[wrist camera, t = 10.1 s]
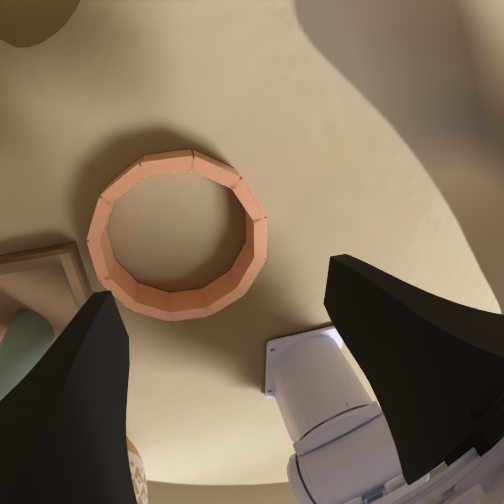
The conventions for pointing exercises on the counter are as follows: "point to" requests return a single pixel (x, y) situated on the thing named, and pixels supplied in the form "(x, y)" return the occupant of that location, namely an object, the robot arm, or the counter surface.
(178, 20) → the counter surface
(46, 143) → the counter surface
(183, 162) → the faceted terracotta ring
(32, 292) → the walnut tray
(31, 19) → the olive pepper mill
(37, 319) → the gray-green peg
